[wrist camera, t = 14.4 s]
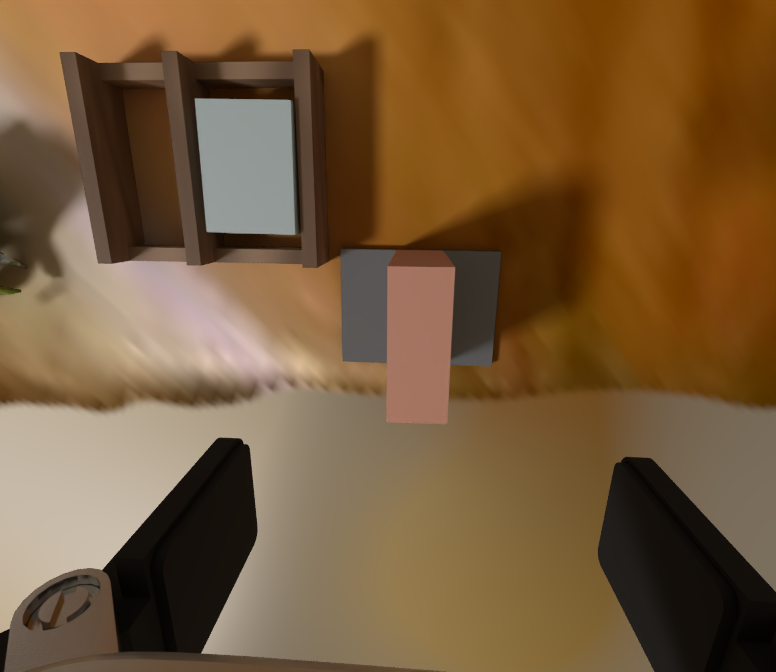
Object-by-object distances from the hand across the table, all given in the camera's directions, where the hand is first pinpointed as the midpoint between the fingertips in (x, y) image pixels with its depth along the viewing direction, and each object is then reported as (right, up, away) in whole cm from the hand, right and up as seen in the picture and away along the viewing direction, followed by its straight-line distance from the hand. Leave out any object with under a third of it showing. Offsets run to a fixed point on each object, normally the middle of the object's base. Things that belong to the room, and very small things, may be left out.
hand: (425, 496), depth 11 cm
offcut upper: (-10, +16, +18) cm, 26 cm away
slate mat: (+1, +6, +22) cm, 23 cm away
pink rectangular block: (+1, +6, +22) cm, 23 cm away
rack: (-13, +16, +21) cm, 29 cm away
